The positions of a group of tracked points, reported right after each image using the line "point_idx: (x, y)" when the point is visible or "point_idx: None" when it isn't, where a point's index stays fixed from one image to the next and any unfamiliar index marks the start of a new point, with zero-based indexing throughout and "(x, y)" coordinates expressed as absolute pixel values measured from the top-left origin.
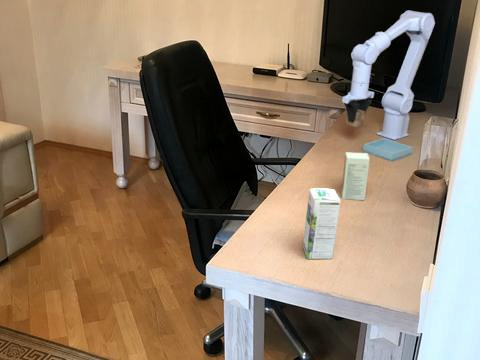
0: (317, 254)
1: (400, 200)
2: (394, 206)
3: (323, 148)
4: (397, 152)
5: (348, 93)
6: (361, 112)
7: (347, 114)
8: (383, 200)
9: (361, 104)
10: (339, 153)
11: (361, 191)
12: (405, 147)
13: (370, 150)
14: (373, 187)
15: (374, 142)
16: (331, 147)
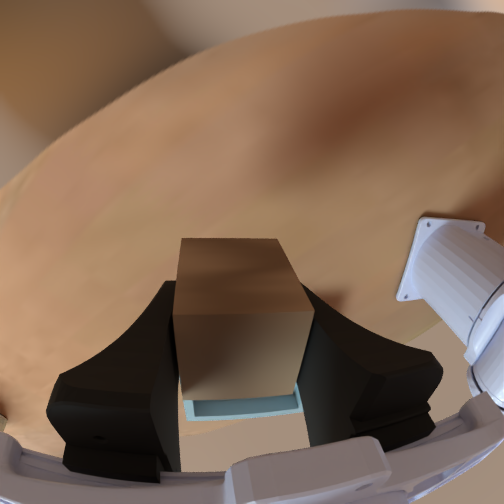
0: None
1: (58, 453)
2: (39, 450)
3: (39, 195)
4: (214, 419)
5: (228, 490)
6: (244, 394)
7: (145, 309)
8: (31, 440)
9: (322, 405)
10: (64, 276)
11: None
12: (299, 395)
13: None
14: (37, 423)
15: None
16: (79, 205)
